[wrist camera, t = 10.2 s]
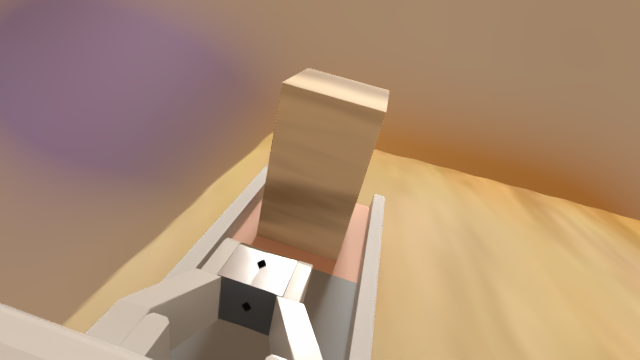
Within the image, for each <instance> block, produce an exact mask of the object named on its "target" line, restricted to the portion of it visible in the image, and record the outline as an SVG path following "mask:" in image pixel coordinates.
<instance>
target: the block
mask: <svg viewBox="0 0 640 360" xmlns="http://www.w3.org/2000/svg"><path fill="white" fill-rule="evenodd" d="M388 97H389V90H385V89H382V88H378V87H374V86H371V85H367V84H364V83H360V82H357V81H353V80H350V79H345V78H342V77H339V76H335V75H332V74H328V73H324V72H321V71H317V70H314V69H310V68H307V69H306V70H304V71H302V72H300V73H298V74H297V75H295V76H293V77H292V78H289V79H288V80H286V81H284V82H282V87H281V93H280V100H279V105H278V111H277V117H276V123H275V128H274V134H273V140H272V146H271V152H270V158H269V164H268V170H267V175H266V181H265V187H264V193H263V199H262V205H261V211H260V217H259V223H258V228H257V234H256V235H258V236H261V237H264V238H267V239H270V240H273V241H276V242H279V243H282V244H285V245H288V246H291V247H294V248H297V249H300V250H303V251H306V252H309V253H312V254H315V255H318V256H321V257H325V258H328V259H331V260H334V261H337V259H338V256H339V253H340V250H341V247H342V244H343V241H344V238H345V235H346V232H347V229H348V226H349V223H350V220H351V217H352V214H353V211H354V208H355V205H356V202H357V199H358V196H359V193H360V190H361V186H362V183H363V180H364V177H365V174H366V171H367V168H368V165H369V162H370V159H371V156H372V153H373V150H374V147H375V144H376V141H377V138H378V135H379V132H380V129H381V126H382V123H383V120H384V117H385V114H386V110H387V103H388Z"/></svg>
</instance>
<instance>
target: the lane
mask: <svg viewBox="0 0 640 360" xmlns="http://www.w3.org/2000/svg"><path fill="white" fill-rule="evenodd" d="M268 164H269V163H268ZM268 164H267V165H266V166H265V167H264V169H263V170H262V171H261V172H260V173H259V174H258V175H257V176H256V177H255V178H254V180H253V181H252V182H251V183H250V184H249V185H248V186H247V187H246V188H245V189H244V191H243V192H242V193H241V194H240V195H239V196H238V197H237V198H236V199H235V201H234V202H233V203H232V204H231V205H230V206H229V207H228V208H227V209H226V210H225V212H224V213H223V214H222V215H221V216H220V217H219V218H218V219H217V220H216V222H215V223H214V224H213V225H212V226H211V227H210V228H209V229H208V230H207V231H206V233H205V234H204V235H203V236H202V237H201V238H200V239H199V240H198V241H197V242H196V244H195V245H194V246H193V247H192V248H191V249H190V250H189V251H188V252H187V254H186V255H185V256H184V257H183V258H182V259H181V260H180V261H179V262H178V263H177V265H176V266H175V267H174V268H173V269H172V270H171V271H170V272H169V273H168V275H167V276H166V277H165V278H164V279H163V280H162V281H161V282H163V281H165V280H168V279H170V278H173V277H175V276H178V275H180V274H183V273H185V272H188V271H190V270H193V269H195V268H197V269H201V268H202V267H203V266H204V264H205V263H206V262H207V261H208V259H209V258H210V257H211V256H212V254H213V253H214V252H215V251H216V249H217V248H218V247H219V246H220V244H221V243H222V242H223V240H225V239H226V238H231V239H233V240H236V241H239V242H243V243H246V244H249V245H252V246H254V247H257V248H260V249H263V250H266V251H269V252H272V253H275V254H279V255H282V256H285V257H288V258H291V259H295V260H298V261H302V262H305V263H308V264H311V265H313V269H312V272H311V276H310V280H309V283H308V287H307V291H306V294H305V298H304V301H303V304H304V305H305V308H306V311H307V314H308V317H309V320H310V323H311V326H312V329H313V332H314V335H315V338H316V341H317V344H318V347H319V350H320V353H321V356H322V359H323V360H371V350H372V339H373V328H374V317H375V305H376V294H377V283H378V272H379V260H380V249H381V238H382V227H383V216H384V204H385V197H384V196H381V195H377V194H374V196H373V199H372V202H371V204H370V207H367V206H364V205H361V204H358V203H356V205H355V208H354V211H353V214H352V217H351V220H350V223H349V226H348V229H347V232H346V235H345V238H344V241H343V244H342V247H341V250H340V253H339V256H338V259H337V261H334V260H331V259H328V258H325V257H321V256H318V255H315V254H312V253H309V252H306V251H303V250H300V249H297V248H294V247H291V246H288V245H285V244H282V243H279V242H276V241H273V240H270V239H267V238H264V237H261V236H258V235H256V234H257V228H258V223H259V217H260V211H261V205H262V199H263V193H264V187H265V181H266V175H267V170H268ZM268 337H269V336H267V335H264V334H262V333H259V332H257V331H254V330H251V329H249V328H246V327H243V326H240V325H237V324H234V323H231V322H228V321H225V320H221V319H218V320H217V321H215V322H214V323H212V324H211V325H209V326H208V327H206V328H205V329H203V330H202V331H200V332H199V333H197V334H196V335H194V336H193V337H191V338H189V339H188V340H186V341H185V342H183V343H182V344H180V345H179V346H177V347H176V348H174V349H173V350H171V351H170V360H265V359H266V357H268V356H270V355H271V351H270V345H269V338H268Z"/></svg>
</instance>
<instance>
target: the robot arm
mask: <svg viewBox="0 0 640 360" xmlns="http://www.w3.org/2000/svg"><path fill="white" fill-rule="evenodd" d="M312 269H313V265H311V264H308V263H305V262H302V261H298V260H295V259H291V258H288V257H285V256H282V255H279V254H275V253H272V252H269V251H266V250H263V249H260V248H257V247H254V246H252V245H249V244H246V243H243V242H239V241H236V240H233V239H231V238H226V239H225V240H223V242H222V243H221V244H220V246H219V247H218V248H217V249H216V251H215V252H214V253H213V254H212V256H211V257H210V258H209V259H208V261H207V262H206V263H205V264H204V266H203V267H202V268H201V269H197V268H195V269H193V270H190V271H188V272H185V273H183V274H180V275H178V276H175V277H173V278H170V279H168V280H165V281H163V282H160V283H158V284H155V285H153V286H150V287H148V288H145V289H143V290H140V291H138V292H135V293H133V294H130V295H128V296H125V297H123V298H120V299H119V300H118V301H117V302H116V303H115V304H114V305H113V306H112V307H111V308H110V309H109V310H108V311H107V312H106V313H105V314H104V315H103V316H102V317H101V318H100V319H99V320H98V321H97V322H96V323H95V324H94V325H93V326H92V327H91V328H90V329H89V330H88V331H87V332H86V333H85V334H83V333H80V332H77V331H75V330H72V329H69V328H67V327H64V326H61V325H58V324H55V323H53V322H50V321H48V320H45V319H42V318H40V317H37V316H34V315H31V314H28V313H26V312H23V311H21V310H18V309H15V308H12V307H10V306H7V305H4V304H2V303H0V360H170V351H171V350H173V349H174V348H176V347H177V346H179V345H180V344H182V343H183V342H185V341H186V340H188V339H189V338H191V337H193V336H194V335H196V334H197V333H199V332H200V331H202V330H203V329H205V328H206V327H208V326H209V325H211V324H212V323H214V322H215V321H217V320H218V319H221V320H225V321H228V322H231V323H234V324H237V325H240V326H243V327H246V328H249V329H251V330H254V331H257V332H259V333H262V334H264V335H267V336H269V337H268V338H269V345H270V351H271V355H270V356H268V357H266V359H265V360H323V359H322V356H321V353H320V350H319V347H318V344H317V341H316V338H315V335H314V332H313V329H312V326H311V323H310V320H309V317H308V314H307V311H306V308H305V305H304V304H303V301H304V298H305V294H306V291H307V287H308V283H309V280H310V276H311V272H312Z"/></svg>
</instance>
